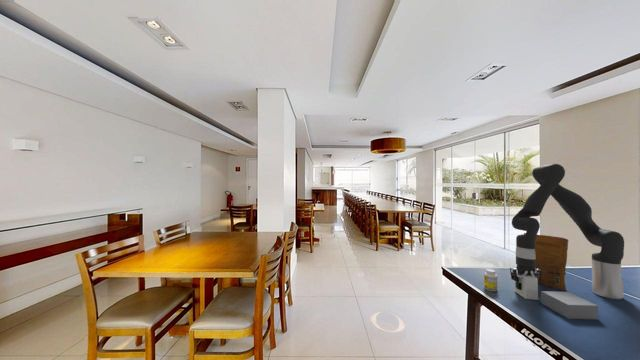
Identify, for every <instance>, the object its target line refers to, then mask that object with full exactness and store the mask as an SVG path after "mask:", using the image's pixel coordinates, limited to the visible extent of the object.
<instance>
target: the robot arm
mask: <svg viewBox="0 0 640 360" xmlns="http://www.w3.org/2000/svg"><path fill="white" fill-rule="evenodd" d="M531 174H532V177H533V179H534V181H536V182H537V183H538V184H539V185H540V186H539V187H538V188H536V189H535V190H534V191H533V192H532V193H531V194H530V195H529V196H528V197H527V199H526V200H525V203H524V204H523V207H522V208H521V209H520V210H519V211H518V212H517V213H516V214H515V215H514V216H513V218H512V219H511V225H512V228H513V229H515V230H520V231H524V232H525V233H526V234H525V235H524V234H523V235H521V234H518V235H516V237H515V238H516V239H515V246H516V247H515V264H516V267H515V268H512V267H510V268H509V271H510V278H511V280H513V281H514V282H515V281H516V288H517V289H519V290H522V283H521V282H522V278H523V276H534V277H536V278H537V276H538V282H541V275H542V271H541V270H539V269H537V268H536V269H535V267H536V252H535V239H536V236H537V235H538V233H539V230H540V228H541V225H540V221H539V220H538V219H537V218H535V217H538V216H540V215H541V213H542V211H543V209H544V207H545V205H546V203H547V201H548V200H549V198H550V197H552V198H553V199H554V200H555V201H556V202H557V204H558V205H559V206H560V208H561V209H562V210H563V211H564V212H565V213H566V214H567V215H568V216H569V218H571V220H572V221H573V222H574V223H575V224H576V226H577V227H578V228H579V230H580V231H581V233H582V234H583V236H584V237H585V239H586V240H587V242H589V243H590V244H592V245H593V246H597V247H600V248H601V249H600V252H594V253H592V254H591V289H592V290H591V291H592V293H593V294H595V295H597V296H600V297H604V298H607V299H612V300H622V299H624V298H625V297H624V296H625V295H624V293H625V292H624V279H623V278H622V260H623V258H624V253H625V251H624V250H625V238H624V236H623V235H622V234H621V233H620V232H618V231H614V230H609V229H603V228H601V227H600V226H599V225H598V224H597V223H596V222H595V221H594V220H593V218H592V215H593V211H592V208H591V206H590V204H589V203H588V202H587V201H586V199H585V198H583V196H582V195H580V194H579V193H576V192H574V191H573V190H570V189H568V188H566V187H564V186H563V185H561V184H560V183H561V182H562V181H563V179H564V178H565V175H566V170H565V168H564V166H562V164H560V163H551V164H545V165H540V166H537V167H534V168H533V169H532V171H531ZM534 273H535V274H534ZM519 274H520V275H522V276H519ZM519 277H520V278H519Z"/></svg>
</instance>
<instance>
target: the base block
mask: <svg viewBox="0 0 640 360" xmlns="http://www.w3.org/2000/svg"><path fill="white" fill-rule="evenodd" d="M540 303H541V305H543V306H545V307H547V308H549V309H550V310H552V311H554V312H555V313H557V314H559V315H561V316H563V317H565V318H567V320H568V319H570V320H573V319H574V320H599V305H597V304H595V303H593V302H591V301H588V300H586V299H584V298H582V297H580V296H578V295H575V294H573V293H572V292H568V291H552V290H551V291H550V290H549V291H548V290H546V291H544V290H542V291H541V290H540Z"/></svg>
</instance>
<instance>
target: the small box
mask: <svg viewBox="0 0 640 360" xmlns="http://www.w3.org/2000/svg"><path fill="white" fill-rule="evenodd" d="M519 276H522V275H520V274H519ZM519 278H520V277H519ZM521 283H522V290H519V289H517V288H516V281H514V292H515V293H517V294H518V295H520V296H521V298H523V299H524V300H525V299H526V300H537V301H538V300H539V285H538V284H539V283H538V278H536V277H534V276H523V278H522V282H521Z"/></svg>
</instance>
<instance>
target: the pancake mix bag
mask: <svg viewBox="0 0 640 360" xmlns="http://www.w3.org/2000/svg"><path fill="white" fill-rule="evenodd" d="M525 234H526V232H524V233H522V234H520V235H525ZM568 249H569V239H567V238H565V237H559V236H552V235H543V234H537V236H536V239H535V252H536V267H535V269H536V268H537V269H539V270H541V271H542V275H541V282H538V284H540V285H543V286H547V287H550V288H553V289H555V290H561V291H562V290H563V291H565V290H566V291H567V287H566V281H565V280H566V279H565V278H566V268H567V267H566V266H567V263H568ZM534 274H535V273H534ZM537 278H538V276H537Z"/></svg>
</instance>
